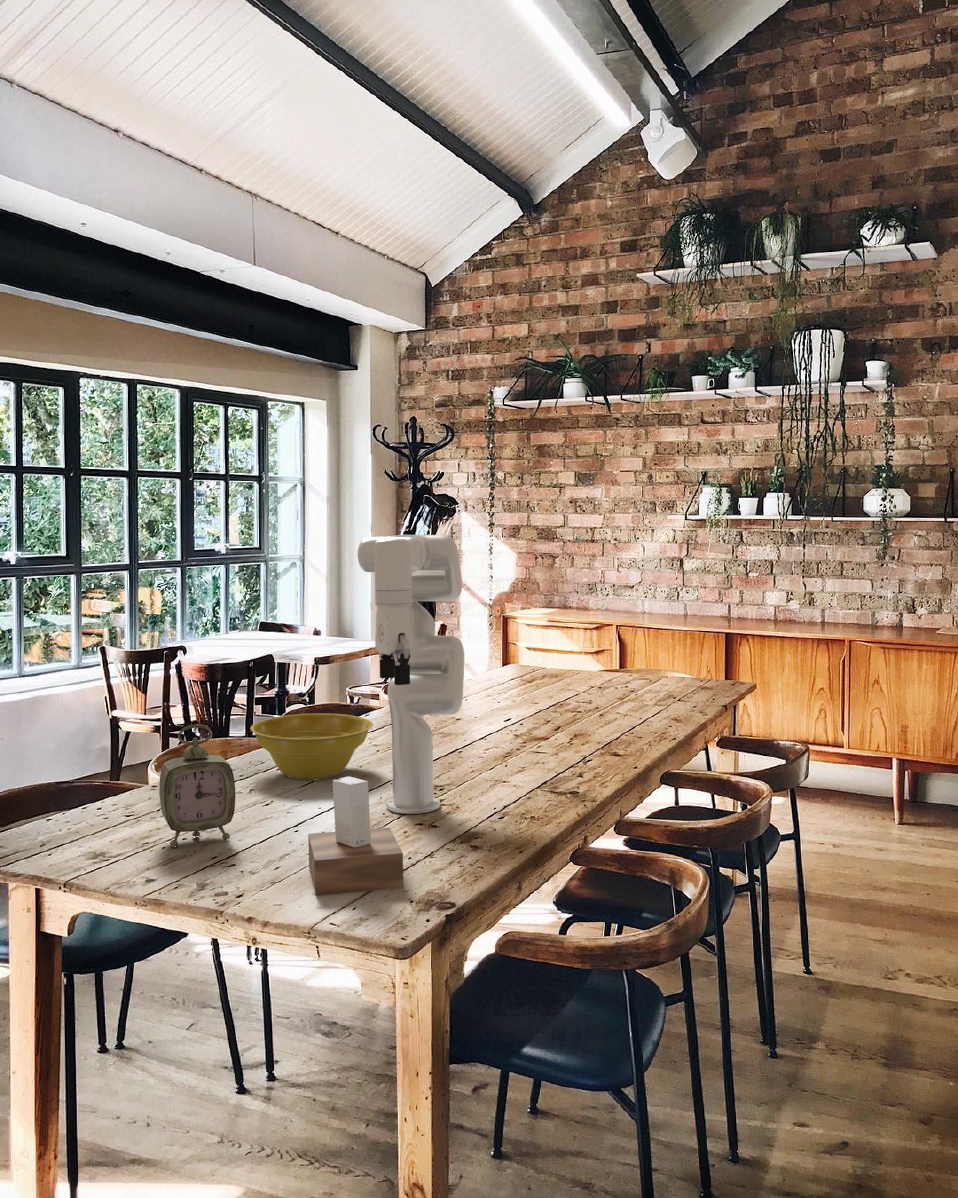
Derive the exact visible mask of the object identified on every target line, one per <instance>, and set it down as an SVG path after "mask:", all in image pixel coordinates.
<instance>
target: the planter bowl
mask: <svg viewBox="0 0 958 1198" xmlns="http://www.w3.org/2000/svg"><path fill="white" fill-rule="evenodd" d="M373 727H374V723H373V722H372V721H371V720H370V719H367V718H364V717H362V716H356V715H351V714H350V715H349V714H344V713H343V714H341V713H299V714H288V715H281V716H275V717H270V718H265V719H261V720H260V721H257V722H255V723H254V724H252V725H251V726H250V728H249V729H250V731H251V732H252V733H254V735H255V738H256V740H257V742H258V744H259V746H260V747H261V748H262V749H264V750H266V751H267V752H268V753H269V754H270V757H271V759H272V760H273V762H274V764H275V765H276V767H277V768H278V770H279V771H280V772H281V773H282V774H283V775H286V777H288V778H291V779H295V780H303V781H304V780H305V781H313V780H314V781H315V780H325V779H330V778H333V777H335V776H338V775H339V774H340V773H341V772H342V771H344V770H345V769H346V767H347V766H348V765H349V763H350V761H351V759H352V757H353V755H354V753H355V750H356V749H358V748H359V747H360V746H361V745H362V744H363V743H364V742H365V740H366V739H367V736H368V733H369V730H371V729H372V728H373Z"/></svg>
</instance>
